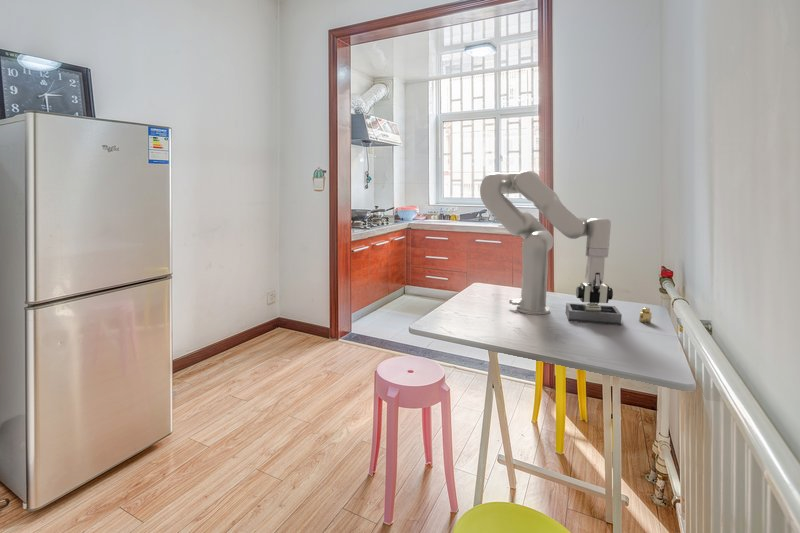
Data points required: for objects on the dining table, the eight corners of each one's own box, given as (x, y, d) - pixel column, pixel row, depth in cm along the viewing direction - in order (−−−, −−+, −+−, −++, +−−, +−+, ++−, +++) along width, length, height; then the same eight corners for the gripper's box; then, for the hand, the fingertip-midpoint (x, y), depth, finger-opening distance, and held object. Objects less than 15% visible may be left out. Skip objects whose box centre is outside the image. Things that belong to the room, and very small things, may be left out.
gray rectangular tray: (568, 321, 154) (569, 310, 153) (565, 311, 166) (565, 301, 166) (620, 325, 149) (621, 314, 148) (613, 314, 162) (614, 304, 161)
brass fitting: (640, 323, 152) (642, 309, 151) (638, 320, 155) (639, 306, 154) (651, 324, 151) (653, 310, 150) (648, 321, 154) (650, 307, 153)
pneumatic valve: (611, 315, 153) (614, 283, 151) (577, 314, 155) (579, 282, 153) (606, 311, 158) (609, 280, 156) (574, 310, 160) (576, 279, 158)
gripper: (582, 248, 162) (579, 294, 165) (589, 255, 145) (585, 305, 149) (603, 249, 159) (600, 295, 163) (613, 256, 143) (608, 307, 147)
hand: (593, 300), depth 156 cm, fingers closed on pneumatic valve, 5 cm apart
